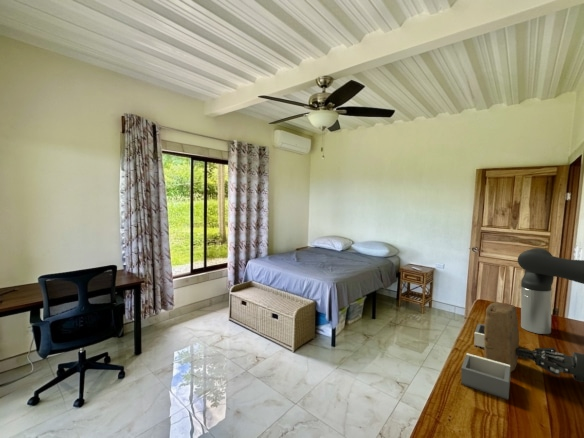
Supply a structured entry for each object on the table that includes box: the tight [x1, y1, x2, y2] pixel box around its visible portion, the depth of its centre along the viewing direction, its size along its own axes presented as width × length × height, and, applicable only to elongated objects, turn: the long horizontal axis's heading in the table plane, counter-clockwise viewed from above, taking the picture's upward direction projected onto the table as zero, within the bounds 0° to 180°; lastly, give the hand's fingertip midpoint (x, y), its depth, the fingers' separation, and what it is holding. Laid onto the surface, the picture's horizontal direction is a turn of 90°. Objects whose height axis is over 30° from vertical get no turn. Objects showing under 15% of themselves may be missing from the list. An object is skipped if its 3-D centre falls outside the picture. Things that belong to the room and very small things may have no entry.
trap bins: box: [460, 323, 511, 401], centre depth 92 cm, size 37×11×5 cm, turn 140°
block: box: [483, 301, 520, 373], centre depth 90 cm, size 11×8×20 cm
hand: (516, 351), depth 87 cm, fingers closed
